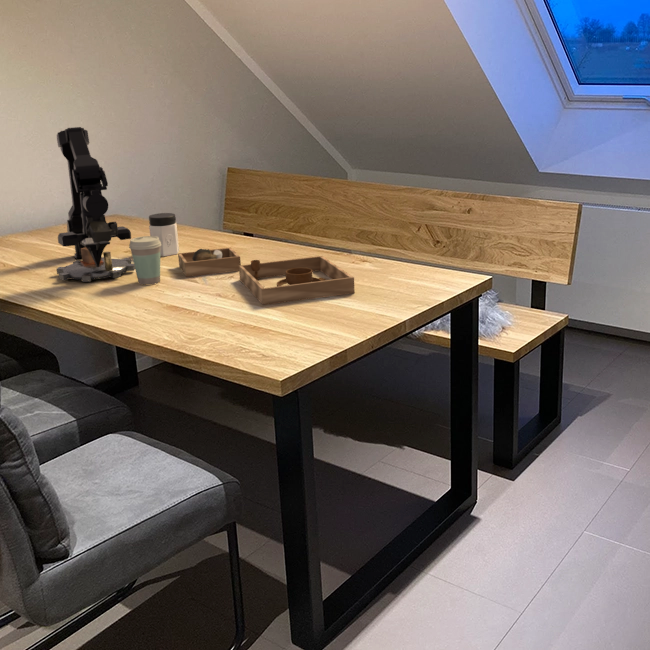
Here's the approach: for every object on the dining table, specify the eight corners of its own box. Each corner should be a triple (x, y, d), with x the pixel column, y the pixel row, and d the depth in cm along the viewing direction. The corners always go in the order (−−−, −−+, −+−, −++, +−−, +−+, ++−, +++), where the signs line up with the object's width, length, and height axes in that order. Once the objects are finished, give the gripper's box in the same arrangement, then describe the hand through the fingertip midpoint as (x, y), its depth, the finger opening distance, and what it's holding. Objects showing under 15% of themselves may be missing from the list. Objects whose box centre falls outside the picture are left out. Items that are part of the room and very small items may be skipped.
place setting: (276, 300, 199) (275, 277, 197) (248, 282, 216) (246, 260, 214) (339, 289, 206) (338, 266, 204) (306, 272, 223) (305, 252, 221)
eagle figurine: (194, 262, 232) (186, 264, 223) (206, 241, 231) (198, 242, 222) (216, 276, 232) (209, 278, 223) (228, 255, 231) (221, 257, 222)
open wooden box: (179, 266, 233) (178, 253, 231) (231, 260, 237) (230, 247, 236) (186, 277, 221) (184, 263, 220) (241, 270, 226) (240, 256, 224)
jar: (157, 257, 244) (153, 219, 241) (147, 253, 251) (143, 215, 247) (184, 253, 249) (180, 215, 245) (174, 248, 256) (170, 211, 252)
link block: (82, 261, 232) (80, 247, 231) (94, 259, 235) (92, 245, 234) (89, 263, 229) (87, 249, 228) (101, 260, 232) (100, 247, 231)
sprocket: (42, 273, 228) (39, 251, 226) (109, 258, 243) (106, 237, 241) (82, 286, 213) (78, 262, 211) (150, 269, 228) (147, 246, 226)
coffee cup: (154, 276, 223) (149, 234, 220) (171, 281, 217) (166, 238, 214) (127, 282, 218) (122, 239, 214) (144, 288, 212) (139, 244, 208)
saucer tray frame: (239, 279, 216) (238, 265, 215) (322, 269, 223) (321, 255, 222) (263, 305, 193) (262, 289, 192) (354, 293, 200) (354, 277, 198)
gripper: (65, 218, 205) (71, 277, 210) (135, 211, 214) (140, 268, 219) (54, 212, 214) (60, 269, 219) (122, 206, 223) (126, 260, 228)
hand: (97, 266), depth 221 cm, fingers closed
